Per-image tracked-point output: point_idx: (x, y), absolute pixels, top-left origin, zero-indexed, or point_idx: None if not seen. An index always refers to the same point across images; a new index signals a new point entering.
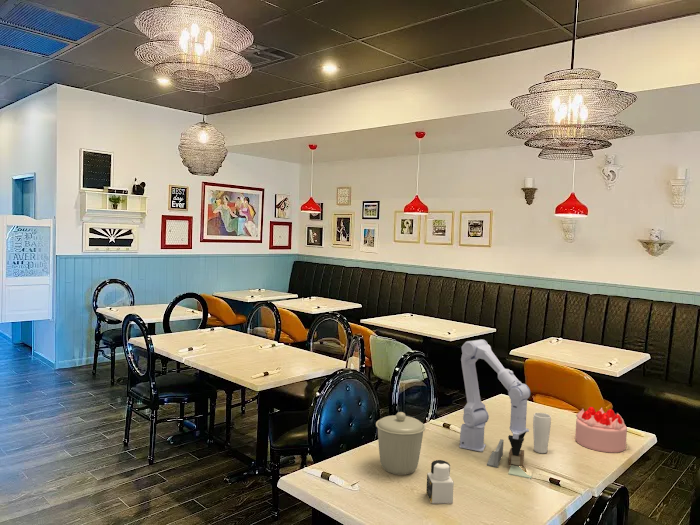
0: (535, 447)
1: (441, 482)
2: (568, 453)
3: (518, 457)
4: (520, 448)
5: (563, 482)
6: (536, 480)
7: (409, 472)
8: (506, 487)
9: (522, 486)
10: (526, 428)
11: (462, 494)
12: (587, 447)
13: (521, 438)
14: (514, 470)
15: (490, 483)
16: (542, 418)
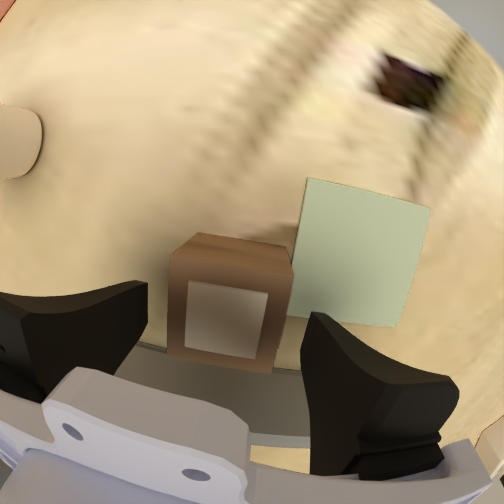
0: (18, 167)
1: None
2: (33, 37)
3: (289, 298)
4: (146, 285)
5: (404, 46)
6: (435, 181)
7: None
8: (491, 319)
9: (489, 260)
10: (62, 447)
11: (495, 407)
12: (5, 12)
13: (399, 420)
14: (358, 297)
15: (463, 372)
16: None
